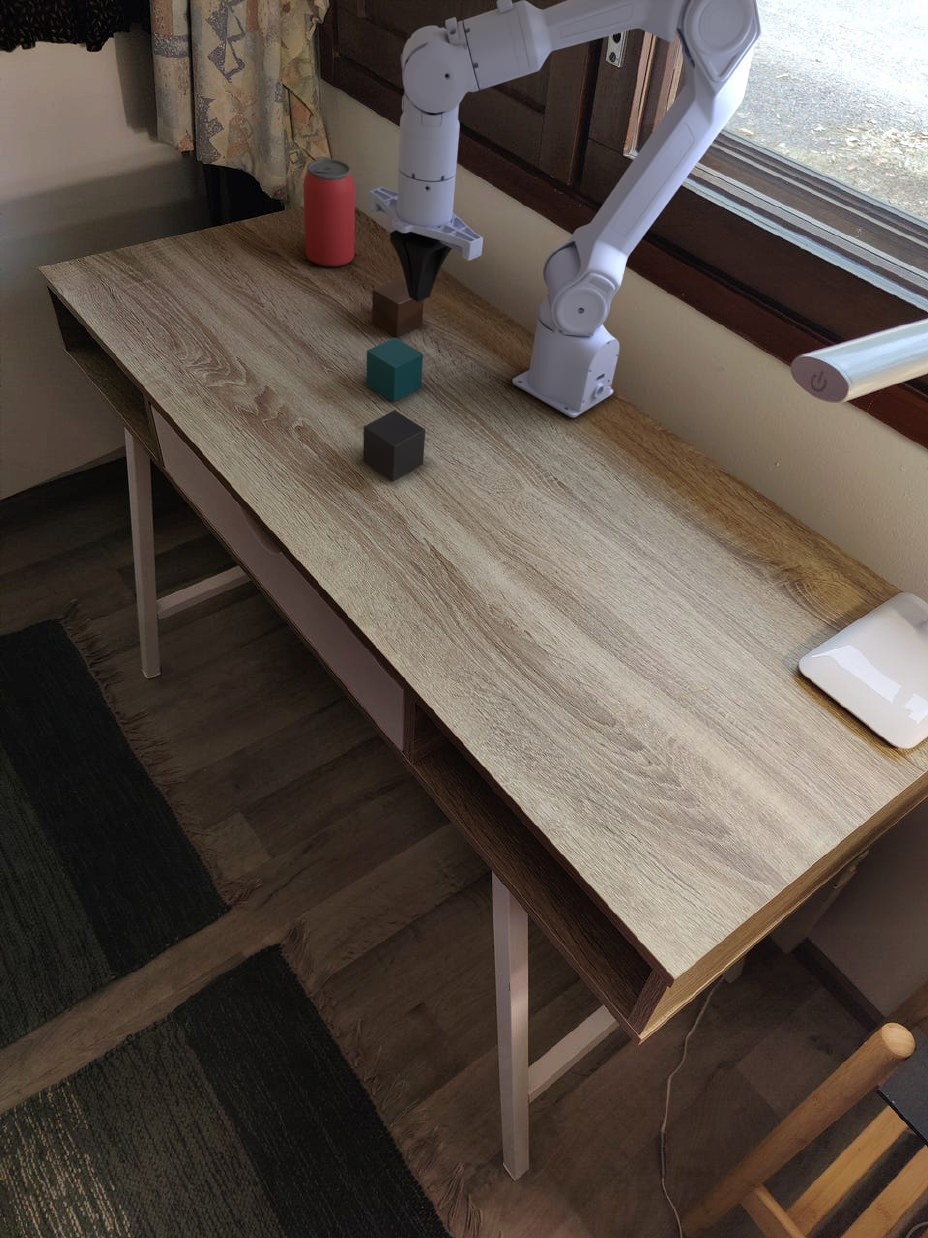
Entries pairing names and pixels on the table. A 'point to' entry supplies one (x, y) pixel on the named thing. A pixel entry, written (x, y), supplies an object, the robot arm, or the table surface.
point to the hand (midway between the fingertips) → (419, 296)
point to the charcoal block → (393, 445)
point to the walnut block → (396, 308)
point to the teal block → (394, 369)
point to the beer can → (329, 213)
